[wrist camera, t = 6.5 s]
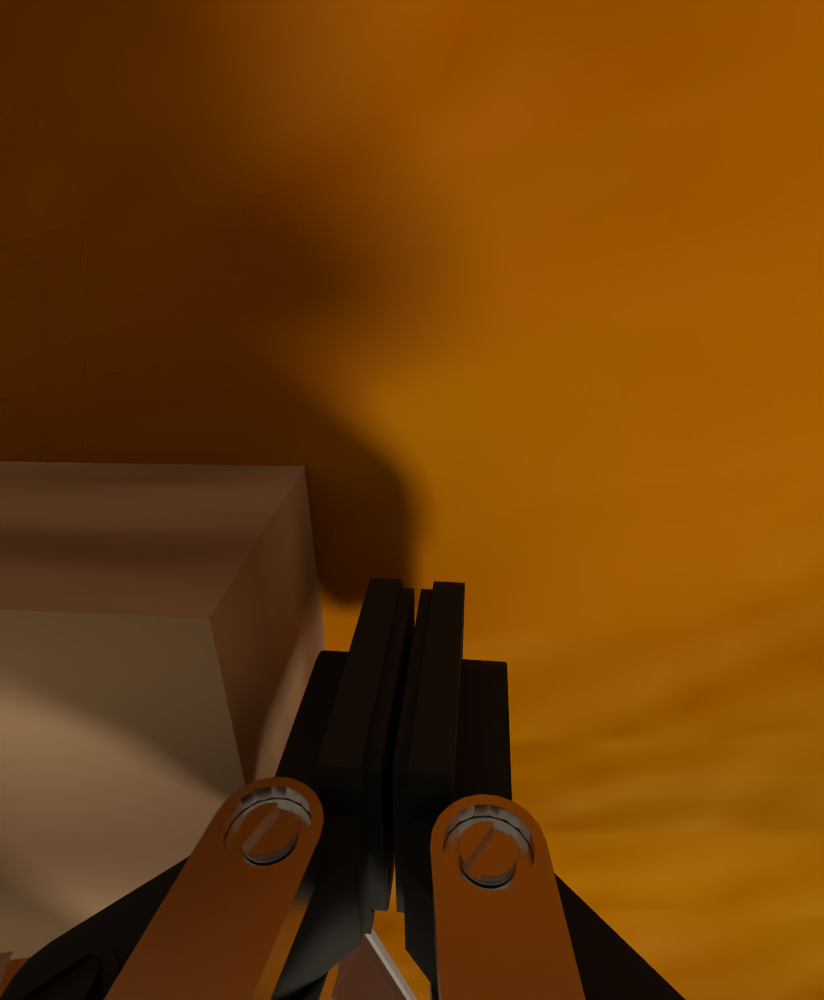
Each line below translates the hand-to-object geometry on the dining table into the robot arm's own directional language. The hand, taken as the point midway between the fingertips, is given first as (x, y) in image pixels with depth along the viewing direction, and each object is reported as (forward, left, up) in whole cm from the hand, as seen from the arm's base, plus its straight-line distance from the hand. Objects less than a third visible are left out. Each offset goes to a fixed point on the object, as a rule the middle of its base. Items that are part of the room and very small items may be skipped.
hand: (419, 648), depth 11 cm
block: (+2, -7, -2) cm, 7 cm away
